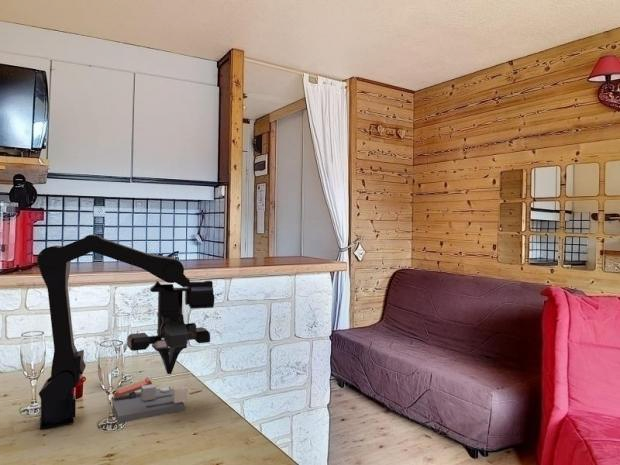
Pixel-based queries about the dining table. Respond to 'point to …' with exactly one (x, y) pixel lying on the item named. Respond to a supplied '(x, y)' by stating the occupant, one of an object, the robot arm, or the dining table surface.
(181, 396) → the front slider
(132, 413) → the panel
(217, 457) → the dining table surface
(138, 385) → the rocker
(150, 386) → the middle slider
